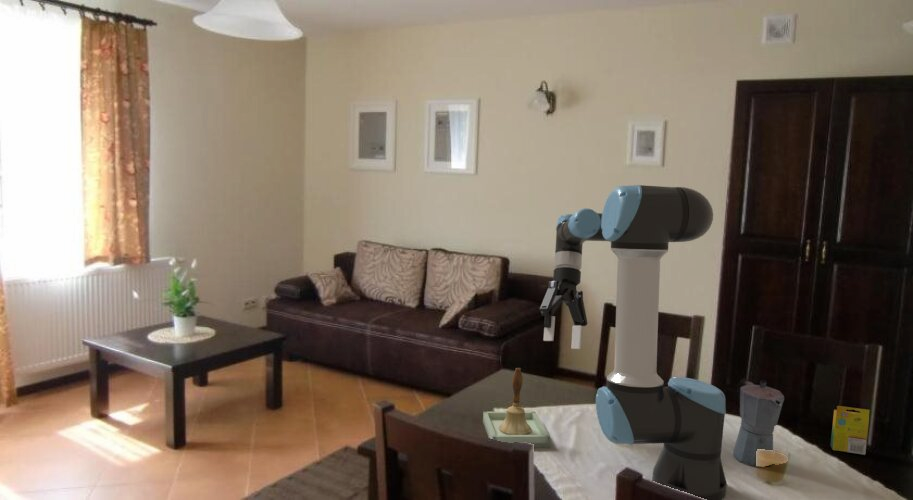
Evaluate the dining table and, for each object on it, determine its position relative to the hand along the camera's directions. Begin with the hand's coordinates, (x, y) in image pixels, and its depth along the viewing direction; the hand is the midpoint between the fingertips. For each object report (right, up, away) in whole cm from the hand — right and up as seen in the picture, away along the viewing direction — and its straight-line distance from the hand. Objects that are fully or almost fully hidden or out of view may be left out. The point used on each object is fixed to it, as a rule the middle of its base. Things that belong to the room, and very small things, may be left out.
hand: (562, 345), depth 175 cm
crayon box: (+70, -25, -13) cm, 75 cm away
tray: (-14, -21, -11) cm, 28 cm away
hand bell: (-14, -20, -11) cm, 27 cm away
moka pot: (+42, -25, -20) cm, 53 cm away
